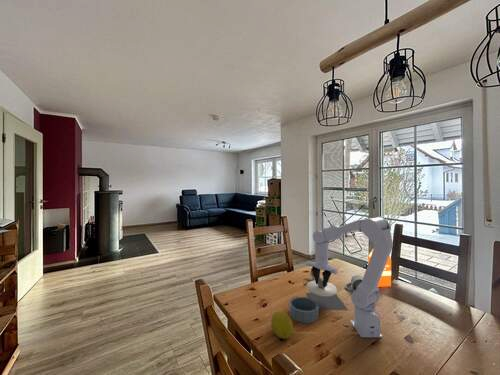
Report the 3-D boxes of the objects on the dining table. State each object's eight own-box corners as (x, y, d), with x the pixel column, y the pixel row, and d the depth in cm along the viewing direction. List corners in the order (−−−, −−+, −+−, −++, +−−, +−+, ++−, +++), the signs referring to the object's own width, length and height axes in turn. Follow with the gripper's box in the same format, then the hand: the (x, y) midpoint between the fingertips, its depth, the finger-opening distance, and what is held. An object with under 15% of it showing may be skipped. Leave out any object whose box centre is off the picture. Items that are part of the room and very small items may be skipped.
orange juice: (367, 280, 129) (367, 246, 129) (381, 280, 130) (382, 246, 130) (376, 287, 121) (376, 250, 121) (391, 286, 122) (391, 250, 122)
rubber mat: (347, 311, 98) (347, 309, 98) (314, 310, 99) (314, 309, 99) (335, 294, 113) (335, 292, 113) (305, 293, 114) (305, 292, 114)
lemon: (295, 345, 78) (295, 322, 78) (273, 345, 78) (273, 322, 78) (289, 325, 89) (289, 305, 88) (270, 325, 89) (270, 305, 88)
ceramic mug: (365, 288, 120) (365, 274, 120) (368, 295, 112) (368, 280, 112) (344, 285, 123) (343, 272, 123) (345, 293, 115) (345, 278, 115)
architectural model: (311, 283, 126) (311, 270, 126) (307, 278, 133) (307, 266, 133) (317, 283, 126) (317, 270, 126) (313, 278, 133) (313, 266, 133)
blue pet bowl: (321, 324, 89) (321, 312, 89) (292, 324, 89) (292, 311, 89) (313, 307, 101) (313, 297, 101) (287, 307, 101) (287, 296, 101)
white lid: (341, 296, 97) (342, 286, 97) (310, 296, 97) (310, 286, 97) (330, 282, 110) (331, 273, 110) (303, 281, 110) (303, 273, 110)
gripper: (340, 257, 101) (340, 287, 101) (312, 250, 111) (312, 277, 111) (333, 261, 96) (333, 292, 96) (304, 253, 106) (304, 281, 107)
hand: (321, 284), depth 103 cm, fingers closed on white lid, 3 cm apart
